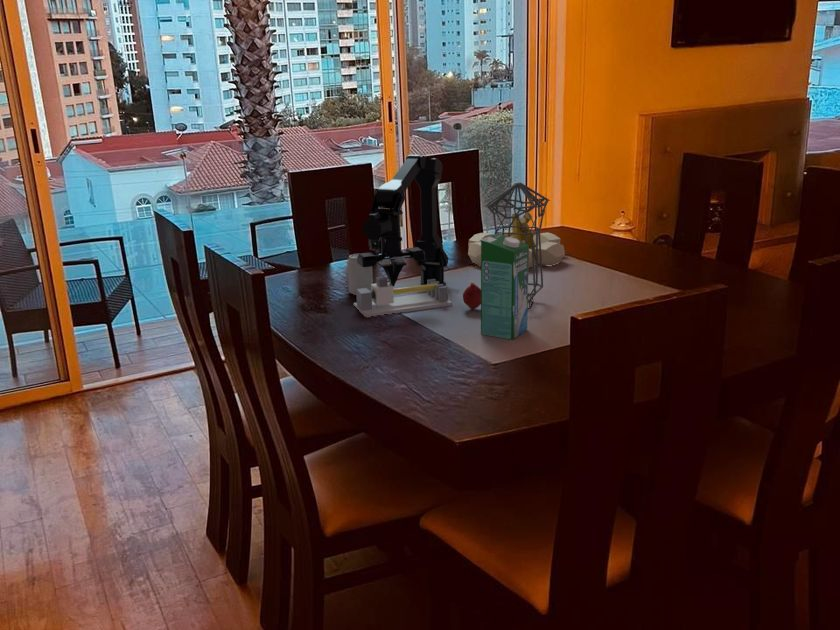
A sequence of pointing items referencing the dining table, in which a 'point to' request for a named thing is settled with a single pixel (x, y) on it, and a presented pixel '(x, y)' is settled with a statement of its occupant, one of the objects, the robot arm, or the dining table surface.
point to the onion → (472, 296)
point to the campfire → (549, 242)
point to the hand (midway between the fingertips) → (392, 286)
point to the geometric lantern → (531, 197)
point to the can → (358, 275)
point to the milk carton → (504, 286)
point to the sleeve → (382, 291)
